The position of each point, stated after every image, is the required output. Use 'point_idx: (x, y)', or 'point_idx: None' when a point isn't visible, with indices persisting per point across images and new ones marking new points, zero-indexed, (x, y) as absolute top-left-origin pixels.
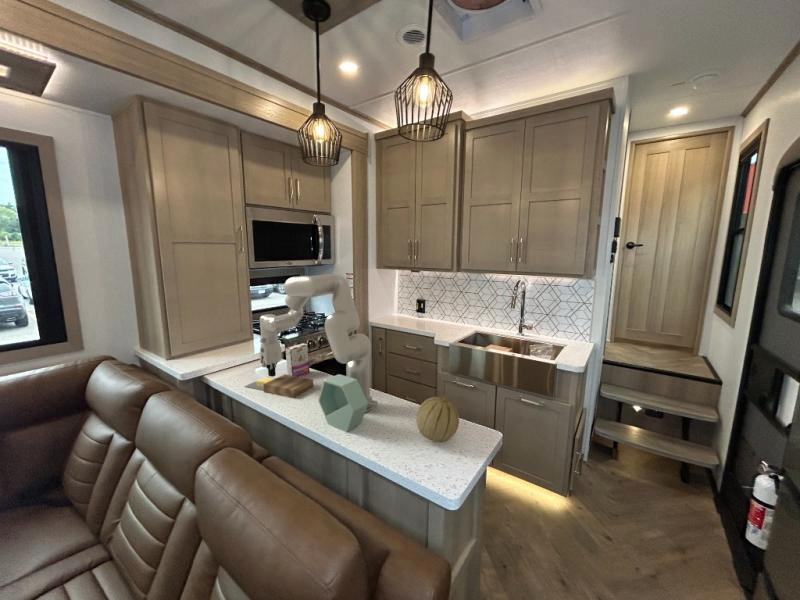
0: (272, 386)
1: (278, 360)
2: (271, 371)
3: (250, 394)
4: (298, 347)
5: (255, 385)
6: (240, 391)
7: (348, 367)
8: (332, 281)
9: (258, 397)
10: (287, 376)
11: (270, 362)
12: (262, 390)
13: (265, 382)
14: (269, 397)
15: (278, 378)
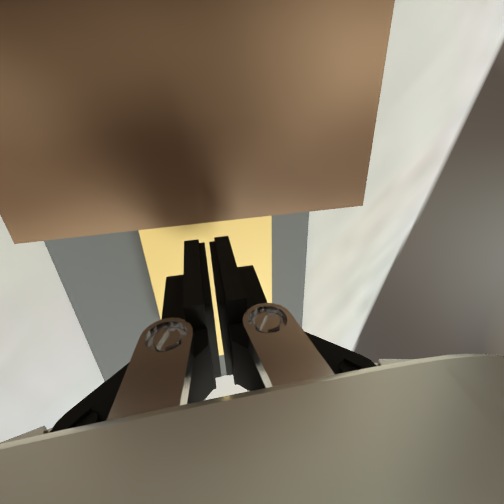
0: (381, 53)
1: (40, 454)
2: (245, 291)
3: (383, 235)
4: None
5: None
6: (358, 321)
7: None
8: None
9: (419, 133)
10: (33, 138)
11: (492, 407)
12: (306, 218)
13: (267, 262)
14: (407, 27)
15: (167, 193)
